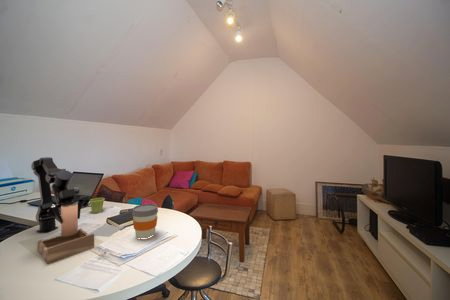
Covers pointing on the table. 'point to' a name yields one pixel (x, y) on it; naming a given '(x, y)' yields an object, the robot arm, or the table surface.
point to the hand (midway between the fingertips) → (70, 220)
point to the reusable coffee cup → (145, 220)
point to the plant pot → (97, 205)
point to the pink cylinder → (69, 219)
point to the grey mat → (106, 230)
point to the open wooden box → (65, 246)
